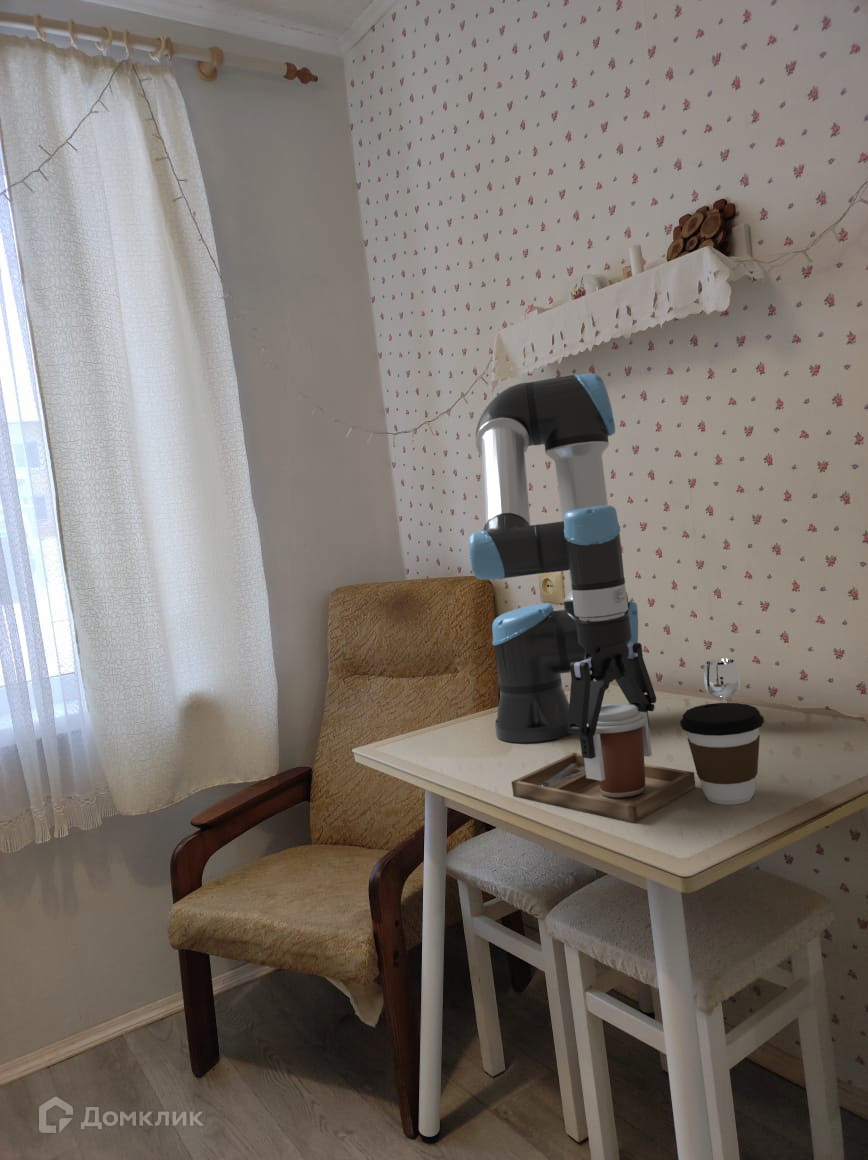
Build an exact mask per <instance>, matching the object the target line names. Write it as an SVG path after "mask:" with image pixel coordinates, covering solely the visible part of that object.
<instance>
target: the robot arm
mask: <svg viewBox="0 0 868 1160" xmlns="http://www.w3.org/2000/svg"><path fill="white" fill-rule="evenodd" d="M612 409H613V408H612V404H611V400H610V397H609V394H608V390H607V387H606V384H605V382H604V380H603V378H602V377H601V375H599V374H597V373H582V374H577V373H575V374H571V375H566V376H560V377H554V378H549V379H548V378H547V379H542V380H535V381H528V382H521V383H516V384H515V385H511V386H509V387H507V388H506V389H504V390H503V391H501V392H500V393H498V395H496V396H495V397H494V398H493V399H492V400H491V401H490V403H488V405H487V406H486V407H485V408H484V410H483V412H482V414H481V415H480V418H479V419H478V422H477V426H476V430H475V445H476V446H475V447H476V449H477V452H478V453H479V455H480V456H481V484H482V485H481V489H482V494H481V495H482V496H481V497H482V530H480V531H477V532H473V533H471V534H470V535H469V536H470V537H469V539H468V550H469V559H470V565H471V570H472V574H473V575H474V577H475V578H476V579H477V580H479V581H480V580H481V581H484V580H485V581H486V580H504V579H510V578H516V577H517V578H518V577H525V576H531V575H532V576H533V575H539V574H548V573H557V572H567V571H568V579H569V586H570V591H569V592H568V594H566V596H565V597H564V598H563V605H564V609H561V610H560V609H559V610H554V607H553V606H552V605H553V604H551V603H549V602H543V603H538V604H537V603H536V604H532V605H527V606H526V605H525V606H524V607H519V608H516V609H513V610H509V611H506V612H504V613H502V614H500V615H499V616H497V617H496V618H495V619H494V620H493V621H492V625H491V627H492V628H491V630H492V646H494V655H495V661H496V663H495V664H496V669H497V677H498V686H499V694H500V696H499V701H498V706H497V713H496V714H497V717H496V719H495V722H494V727H495V735H496V737H497V738H498V739H499V740H501V741H505V742H510V743H519V744H520V743H523V744H524V743H537V742H546V741H551V740H554V739H555V740H556V739H558V738H563V737H565V736H568V735H570V734H573V735H578V737H579V741H580V750H581V752H580V753H581V754H582V756H583V758H584V762H585V770H586V778H589V779H594V780H599V781H603V780H605V773H604V765H603V757H602V748H601V740H600V734H596V733H595V731H596V727H597V723H598V718H599V714H600V710H601V706H603V705H602V704H603V700H604V696H605V692H606V691H607V690H608V689H609V687H610V683H612V682H613V681H614V680H615V683H617V685H618V687H619V688H620V690H621V692H622V693H623V695H624V697H625V699H626V700H627V702H628V704H632V705H635V706H636V707H637V708H638V712H639V713H640V714H641V715H644V716H645V717H646V720H647V723H646V724H645V726H643V744H644V757H648V758H649V757H651V756H652V755H653V754H652V745H651V736H650V728H651V727H650V720H649V718H650V717H649V712H653V711H655V705H654V704H656V703H657V696H656V692H655V690H654V687H653V683H652V681H651V677H650V674H649V672H648V670H647V669H648V668H647V665H646V663H645V659H644V657H643V655H644V654H643V646H642V644H641V643H640V642H639V617H638V615H639V613H638V605H637V603H636V602H635V601H632V600H629V597H628V596H629V595H628V592H627V591H626V579H625V572H624V565H623V564H624V563H623V562H624V561H623V551H622V544H621V543H622V542H621V534H620V532H621V526H620V523H619V520H618V518H619V517H618V514H617V513H618V511H617V510H616V508H615V506H612V505H609V504H608V496H607V488H606V487H607V486H606V478H605V472H604V471H605V470H604V463H603V453H604V452H605V451H606V450H607V448H608V447H609V445H610V442H609V437H611V436H612V435H615V433H616V425H615V420H614V413H613V410H612ZM540 445H541V446H542V445H544V451H545V455H546V456H547V457H549V458H550V459H551V460H553V462H554V466H555V472H556V473H555V474H556V479H557V480H556V481H557V491H558V497H559V506H560V513H561V520H562V521H556V522H555V521H554V522H547V523H539V524H531V516H530V505H529V504H530V503H529V491H528V479H527V468H526V456H525V455H526V454H525V453H526V452H527V450H528V448H529V447H531V446H532V447H533V446H534V447H535V446H540ZM568 673H570V677H571V681H570V690H569V691H570V692H569V693H570V694H569V700H568V698H567V696H566V693H565V690H564V688H563V683H562V674H568ZM587 724H588V727H587Z"/></svg>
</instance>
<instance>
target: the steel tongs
mask: <svg viewBox="0 0 868 1160" xmlns="http://www.w3.org/2000/svg"><path fill="white" fill-rule="evenodd" d="M575 771H577V764H571V765H569V766H568V767H566V768H565V769H564V770H562V771H561V772H559V773H558V774H557V775H555V776H554V777H552V778H551V779H550V780H548V781H547V782H545V783H541V784H539V785H541V786H546V787H550V788H555V787H557V786H559V785H561V784H563V783H565V782H567V781H569V780H571V779H573V778H575V777H577V776H579V775H581V774H583V773H585V772H586V770H583V771H580V772H578V773H575V774H573V773H574V772H575ZM571 774H572V775H571Z"/></svg>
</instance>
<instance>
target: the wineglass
mask: <svg viewBox="0 0 868 1160" xmlns="http://www.w3.org/2000/svg"><path fill="white" fill-rule="evenodd" d="M703 674H704V675H703V678H704V680H703V681H704V687H705V690H706V692H707V693H708V695H710V696H711V697H713V698H716V699H720V700H722V701H721V703H728V701H727V699H730V698H732V697H734V696H736V695H737V694H738V692H739V691H740V687H741V679H740V678H741V677H740V673H739V670H738V667H737V665H736V661H735V660H734V659H731V658H716V659H710V660H707V661H706V662H705V666H704V673H703Z"/></svg>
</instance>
